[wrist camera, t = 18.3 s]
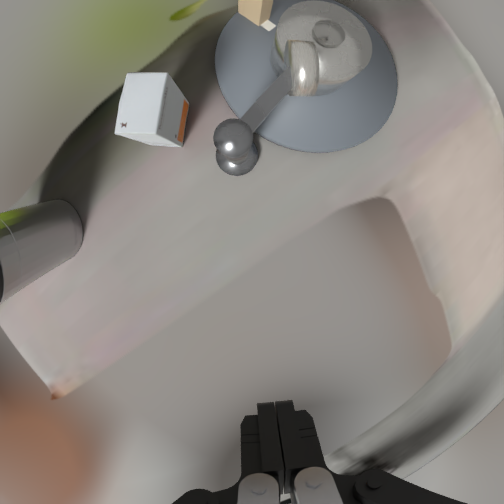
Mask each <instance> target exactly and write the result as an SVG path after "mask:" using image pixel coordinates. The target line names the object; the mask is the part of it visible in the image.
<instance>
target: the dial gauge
mask: <svg viewBox="0 0 504 504" xmlns="http://www.w3.org/2000/svg"><path fill="white" fill-rule="evenodd" d="M318 83H319V56H318V51H317V48H316V45H315V44H314V42H313V41H304V40H287V42H286V45H285V51H284V72H283V73H282V74H281V75H280V76H279V77H278V78H277V79H276V80H275V81H274V82H273V83H272V84H271V85H270V86H269V88H268V89H267V90H266V91H265V92H264V93H263V94H262V95H261V96H260V97H259V98H258V99H257V101H256V102H255V103H254V104H253V105H252V106H251V107H250V108H249V109H248V111H247V112H246V113H245V114H244V115H243V116H242V117H241V119H228V120H225V121H223V122H222V123H220V124H219V125H218V127H217V128H216V130H215V132H214V144H215V146H216V148H217V151H216V160H217V163H218V165H219V167H220V168H221V169H222V170H223V171H224V172H225V173H227V174H230V175H234V176H239V175H244V174H246V173H248V172H249V171H251V170H252V169H253V168H254V166H255V165H256V162H257V159H258V151H257V148H256V146H255V144H254V143H253V133H254V131H255V130H256V129H257V128H258V127H259V126H260V124H261V123H262V122H263V121H264V120H265V119H266V118H267V117H268V115H269V114H270V113H271V112H272V111H273V110H274V109H275V108H276V106H277V105H278V104H279V103H280V102H281V101H282V100H283V99H284V98H285V97H286V95H287V94H288V95H289V96H301V97H313V96H314V95H315V93H316V91H317V88H318Z"/></svg>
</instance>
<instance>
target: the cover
mask: <svg viewBox="0 0 504 504" xmlns="http://www.w3.org/2000/svg"><path fill="white" fill-rule="evenodd" d="M287 40H304V41H313V42H314V44H315V45H316V48H317V51H318V56H319V83H318V88H317V91H316V93H315V95H314V96H321V95H327V94H330V93H332V92H334V91H336V90H337V89H339V88H340V87H341V86H343V85H344V84H345V83H346V82H348V81H349V80H350V79H351V78H353V77H354V76H355V75H357V74H358V73H359V72H361V71H362V70H363V69H364V68H365V67H366V66H367V65H368V63H369V61H370V59H371V56H372V42H371V38H370V36H369V33H368V31H367V30H366V28H365V27H364V25H363V24H362V23H361V22H360V20H359V19H358V18H357V17H355V16H354V15H353V14H352V13H350V12H349V11H347V10H346V9H344V8H342V7H340V6H338V5H335V4H333V3H329V2H325V1H316V0H311V1H303V2H300V3H297V4H294V5H292V6H291V7H289V8H288V9H287V10H286V11H285V12H284V13H283V14H282V16H281V17H280V20H279V22H278V26H277V30H276V33H275V37H274V41H273V44H272V48H271V52H270V61H271V65H272V68H273V70H274V72H275V74H276V75H277V77H279V76H280V75H281V74H282V73H283V72H284V51H285V45H286V42H287Z"/></svg>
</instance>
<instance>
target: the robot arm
mask: <svg viewBox="0 0 504 504" xmlns="http://www.w3.org/2000/svg"><path fill="white" fill-rule="evenodd" d="M82 237H83V230H82V224H81V220H80V218H79V215H78V213H77V212H76V210H75V209H74V208H73V207H72V205H71V204H69V203H68V202H66V201H63V200H58V199H56V200H51V201H47V202H42V203H37V204H33V205H29V206H25V207H21V208H17V209H13V210H10V211H6V212H2V213H0V304H1V303H2V302H4V301H5V300H7V299H8V298H10V297H11V296H13V295H14V294H15V293H17V292H18V291H20V290H21V289H23V288H24V287H26V286H27V285H29V284H30V283H32V282H33V281H35V280H37V279H38V278H40V277H41V276H43V275H44V274H46V273H48V272H49V271H51V270H53V269H54V268H56V267H58V266H59V265H61V264H63V263H64V262H66V261H68V260H69V259H71V258H72V257H74V256H75V255H76V254H77V252H78V251H79V249H80V247H81V243H82ZM257 409H258V415H249V416H245V417H244V419H243V421H242V423H241V472H242V473H241V477H240V479H239V481H238V482H237V483H236V484H235V485H234V486H232V487H230V488H228V489H225V490H221V491H217V492H213V493H212V492H210V491H208V490H205V489H194V490H190V491H188V492H186V493H185V494H184V495H183V496H181V497H180V498H179V499H178V500H176V501H175V502H173V503H172V504H280V494H283V487H284V494H287V493H290V496H291V502H292V503H291V504H467V503H463V502H460V501H457V500H454V499H451V498H448V497H445V496H442V495H440V494H437V493H434V492H431V491H429V490H426V489H424V488H421V487H419V486H417V485H414V484H412V483H409V482H407V481H405V480H403V479H400V478H398V477H396V476H394V475H392V474H389V473H387V472H385V471H383V470H379V469H371V470H368V471H365V472H363V473H362V474H361V475H360V476H348V475H339V474H336V473H334V472H332V471H331V470H329V469H328V468H327V466H326V464H325V461H324V457H323V454H322V451H321V446H320V443H319V439H318V437H317V432H316V429H315V425H314V421H313V418H312V417H311V416H310V414H309V413H308V412H307V411H306V410H300V411H295V410H294V405H293V402H292V400H287V401H277V402H275V406H274V402H268V403H257Z"/></svg>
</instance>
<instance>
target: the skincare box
mask: <svg viewBox="0 0 504 504" xmlns="http://www.w3.org/2000/svg"><path fill="white" fill-rule="evenodd" d="M188 109H189V102H188V101H187V99H186V98H185V96H184V95H183V94H182V92H181V91H180V89H179V88H178V86H177V85H176V84H175V82H174V81H173V79H172V78H171V76H170V75H169V74H168V73H167V72H133V73H127V75H126V78H125V82H124V87H123V91H122V95H121V98H120V102H119V109H118V115H117V121H116V127H115V134H117V135H121V136H124V137H127V138H130V139H133V140H137V141H140V142H143V143H146V144H149V145H156V146H171V147H182V146H183V138H184V131H185V124H186V119H187V114H188Z"/></svg>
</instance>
